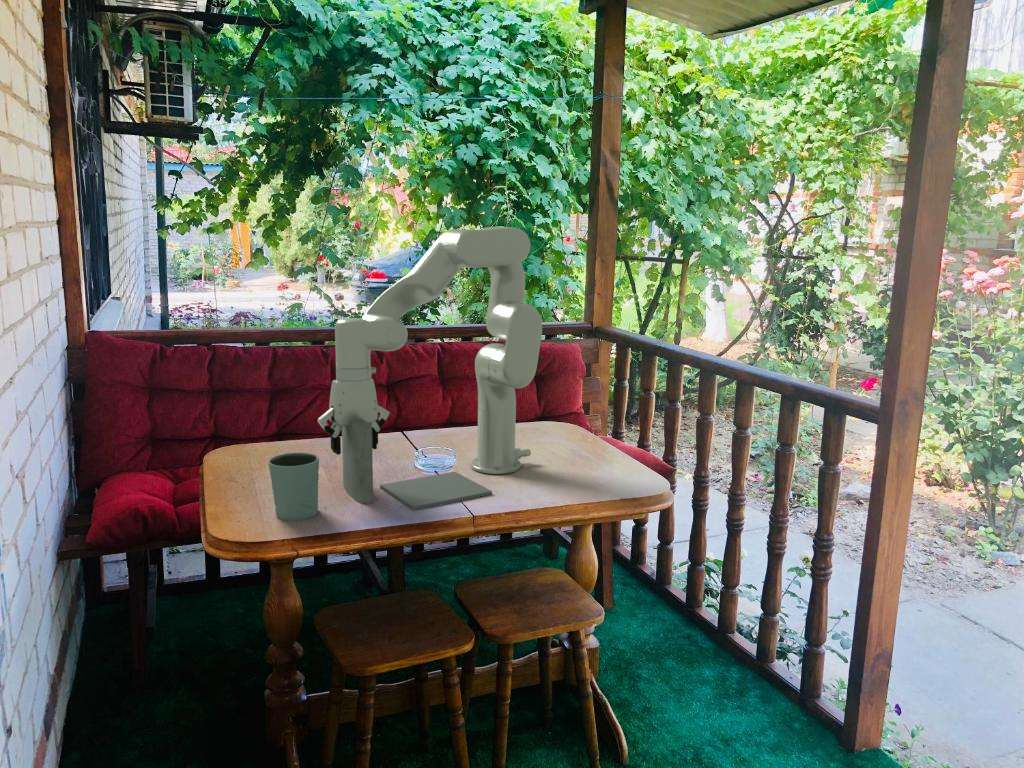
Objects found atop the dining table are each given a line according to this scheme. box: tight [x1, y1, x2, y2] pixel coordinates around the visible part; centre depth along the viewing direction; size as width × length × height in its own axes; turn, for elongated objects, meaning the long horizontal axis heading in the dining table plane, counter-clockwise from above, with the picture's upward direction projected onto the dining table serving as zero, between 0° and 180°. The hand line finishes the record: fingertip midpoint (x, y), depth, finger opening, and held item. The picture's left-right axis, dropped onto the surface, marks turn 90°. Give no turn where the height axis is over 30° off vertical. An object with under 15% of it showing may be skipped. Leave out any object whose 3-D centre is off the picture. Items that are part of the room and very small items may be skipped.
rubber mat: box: [379, 471, 493, 511], centre depth 181 cm, size 20×17×1 cm
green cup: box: [267, 452, 320, 522], centre depth 165 cm, size 10×10×12 cm
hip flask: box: [341, 420, 374, 504], centre depth 178 cm, size 16×4×20 cm, turn 27°
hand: (354, 450), depth 178 cm, fingers open, 8 cm apart
